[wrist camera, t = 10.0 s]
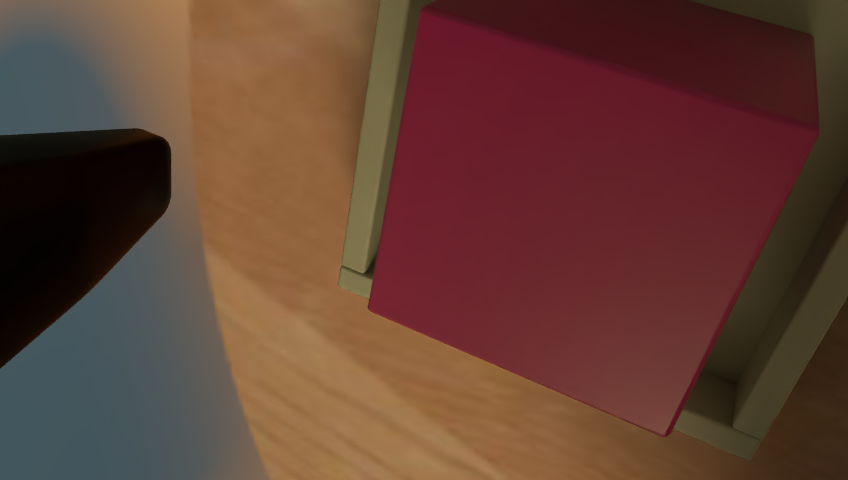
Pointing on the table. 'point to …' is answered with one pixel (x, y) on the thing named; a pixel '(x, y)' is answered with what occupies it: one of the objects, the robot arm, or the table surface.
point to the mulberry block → (590, 187)
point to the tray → (772, 273)
